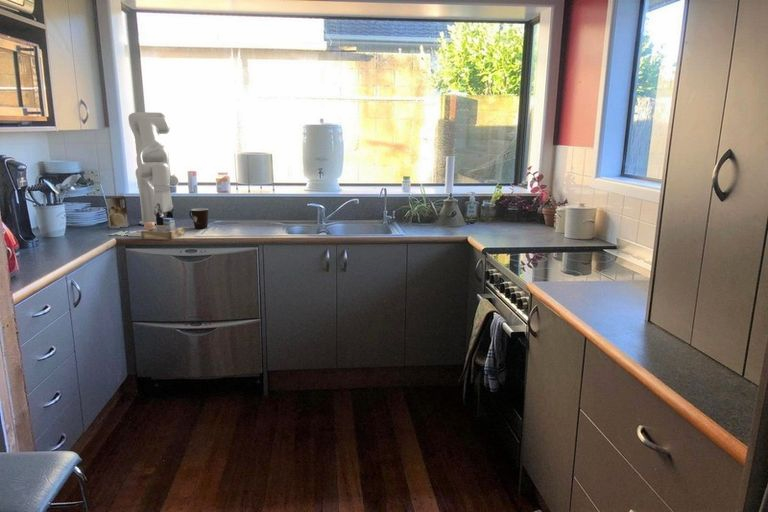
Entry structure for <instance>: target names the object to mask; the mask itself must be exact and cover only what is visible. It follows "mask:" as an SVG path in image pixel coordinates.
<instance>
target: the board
mask: <svg viewBox="0 0 768 512" xmlns="http://www.w3.org/2000/svg"><path fill="white" fill-rule="evenodd" d="M126 232H128V231H125V232H123V230H120V231H117V232H114V233H110V234H109V235H114V234H118V235H121V236H120V237H125V236H124V235H126V234H125V233H126ZM127 235H128V236H129V234H127Z"/></svg>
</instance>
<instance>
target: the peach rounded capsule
mask: <svg viewBox="0 0 768 512" xmlns="http://www.w3.org/2000/svg"><path fill="white" fill-rule="evenodd" d="M143 227H144V229H143V230H147V229H150V228H153V227H156V225H155V222H144V225H143Z"/></svg>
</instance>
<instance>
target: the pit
mask: <svg viewBox="0 0 768 512" xmlns="http://www.w3.org/2000/svg"><path fill="white" fill-rule="evenodd" d="M142 231H143V230H140V229H139V230H134V231H130V233H129V235H128V237H129V236H141V232H142Z"/></svg>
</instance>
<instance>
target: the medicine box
mask: <svg viewBox="0 0 768 512" xmlns="http://www.w3.org/2000/svg"><path fill="white" fill-rule="evenodd" d="M155 220H156V219H155ZM163 223H164V225H157V221H156V225H155V227H156V231H157V232H170V231H172V230H175V229H176V224H175V223H176V222H175V218H174V217H173V218H167V217H163Z"/></svg>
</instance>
